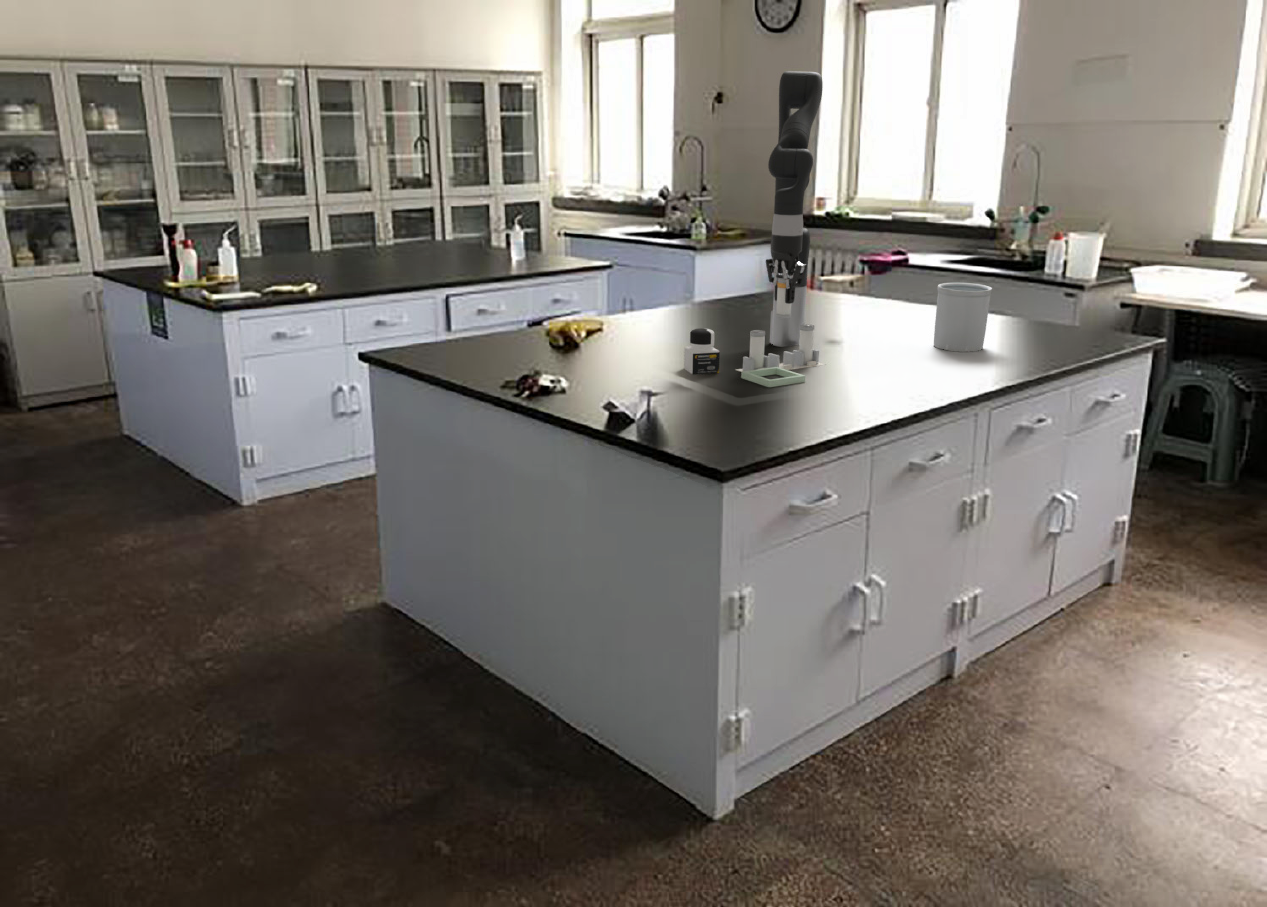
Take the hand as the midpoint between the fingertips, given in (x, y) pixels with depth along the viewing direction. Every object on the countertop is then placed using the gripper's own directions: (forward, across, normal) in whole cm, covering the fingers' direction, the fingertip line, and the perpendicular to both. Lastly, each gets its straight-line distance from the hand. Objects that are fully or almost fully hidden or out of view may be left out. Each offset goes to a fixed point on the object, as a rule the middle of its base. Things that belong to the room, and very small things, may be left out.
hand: (784, 301), depth 262 cm
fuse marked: (+4, 0, 0) cm, 4 cm away
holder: (+18, 0, 0) cm, 18 cm away
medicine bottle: (+18, +7, +20) cm, 28 cm away
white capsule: (+17, 0, -8) cm, 19 cm away
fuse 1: (+17, 0, +8) cm, 19 cm away
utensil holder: (+19, 0, -65) cm, 68 cm away
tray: (+18, -10, +11) cm, 23 cm away
